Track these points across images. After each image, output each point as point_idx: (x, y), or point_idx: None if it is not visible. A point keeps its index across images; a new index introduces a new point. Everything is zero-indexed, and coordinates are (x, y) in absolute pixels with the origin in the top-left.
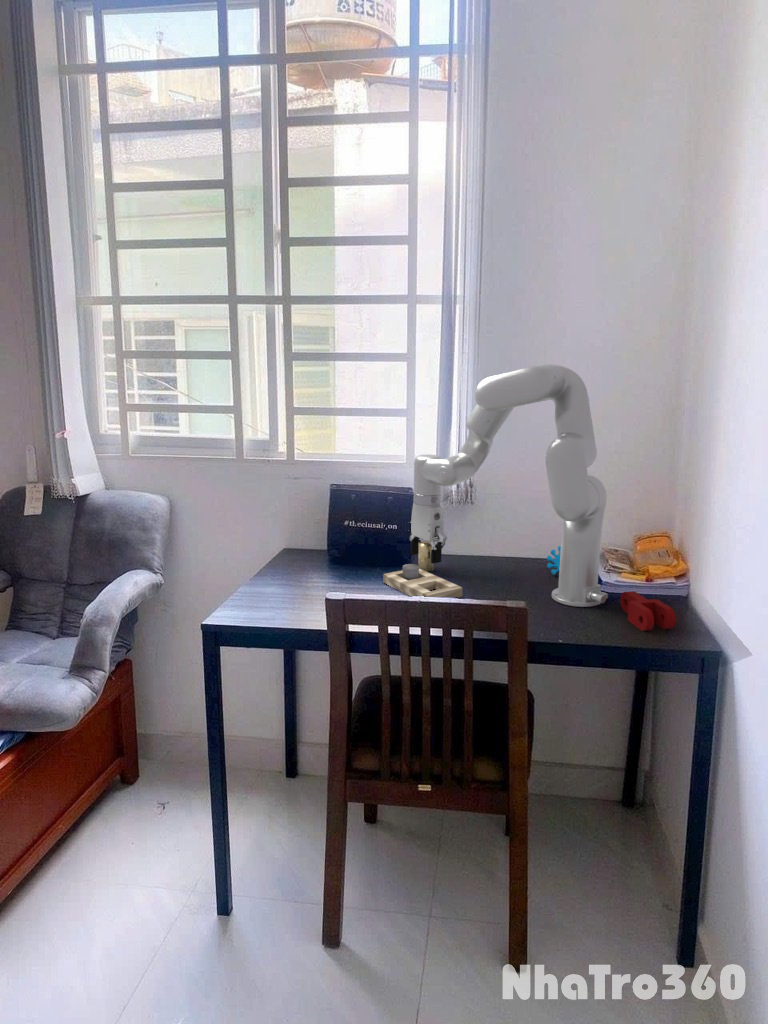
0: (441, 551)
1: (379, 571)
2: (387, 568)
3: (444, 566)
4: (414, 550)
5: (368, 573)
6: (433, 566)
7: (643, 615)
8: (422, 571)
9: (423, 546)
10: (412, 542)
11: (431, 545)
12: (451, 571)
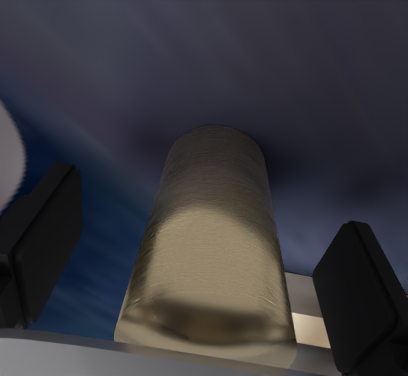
0: (406, 295)
1: (82, 302)
2: None
3: (266, 9)
4: (68, 240)
5: (81, 331)
6: (265, 169)
7: None
8: (318, 327)
9: None
10: (31, 321)
11: (291, 350)
12: (384, 78)
